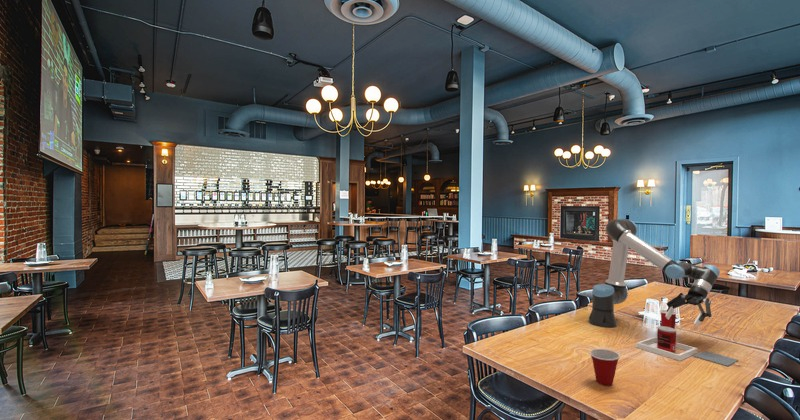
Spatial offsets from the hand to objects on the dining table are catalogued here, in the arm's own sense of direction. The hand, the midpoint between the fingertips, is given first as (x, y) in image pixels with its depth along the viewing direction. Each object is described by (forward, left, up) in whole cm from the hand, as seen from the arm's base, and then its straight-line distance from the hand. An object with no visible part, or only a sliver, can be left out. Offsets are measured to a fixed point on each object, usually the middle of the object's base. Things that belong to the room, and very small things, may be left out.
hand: (680, 321), depth 191 cm
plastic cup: (+2, -73, -14) cm, 74 cm away
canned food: (-2, -10, -14) cm, 17 cm away
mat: (+15, -1, -14) cm, 20 cm away
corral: (-2, -10, -14) cm, 17 cm away
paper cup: (-13, +18, -14) cm, 27 cm away
